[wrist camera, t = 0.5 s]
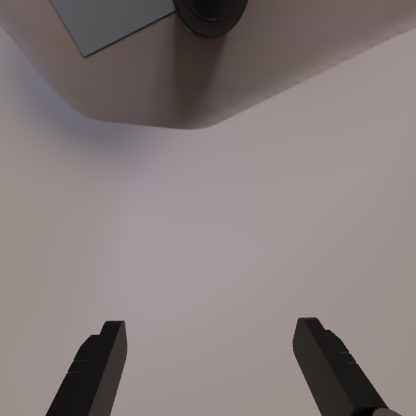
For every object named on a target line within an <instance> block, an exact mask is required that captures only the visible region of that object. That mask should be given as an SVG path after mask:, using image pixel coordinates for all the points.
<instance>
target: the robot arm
mask: <svg viewBox="0 0 416 416" xmlns="http://www.w3.org/2000/svg"><path fill="white" fill-rule="evenodd" d="M293 351H294V354H295V357H296V359H297V361H298V363H299V366H300V368H301V370H302V373H303V375H304V377H305V379H306V382H307V384H308V386H309V388H310V391H311V393H312V395H313V397H314V399H315V402H316V404H317V406H318V408H319V411H320V413H321V415H322V416H401V415H400V414H398V413H397V412H394V411H392V410H390V409H389V408H388V407H387V405H386V404H385V403H384V401H383V400H382V398H381V397H380V395H379V394H378V393H377V391H376V390H375V388H374V387H373V385H372V384H371V382H370V381H369V380H368V378H367V377H366V375H365V374H364V372H363V371H362V370H361V368H360V367H359V365H358V364H356V361H355V360H354V358H353V357H352V355H351V354H349V351H348V349H347V348H346V347H345V345H344V344H343V342H342V341H341V339H339V338H338V337H337V336H336V335H335V334H334V333H332V332H331V331H330V330H325V329H324V328H323V326H322V324H321V323H320V321H319V320H318V319H317V318H315V317H314V318H313V317H311V318H299V319H298V321H297V325H296V329H295V334H294V338H293ZM126 355H127V338H126V329H125V322H124V321H106V322H105V324H104V325H103V328H102V330H101V333H100V334H99V335H91V336H90V337H89V338H88V339H87V340H86V341H85V342H84V343H83V344H82V345H81V347H80V348H79V350H78V352H77V354H76V356H75V358H74V361H73V363H72V364H71V366H70V368H69V370H68V373H67V374H66V376H65V378H64V380H63V382H62V384H61V386H60V388H59V390H58V392H57V394H56V396H55V398H54V400H53V402H52V404H51V406H50V408H49V410H48V412H47V414H46V416H110V414H111V410H112V406H113V403H114V399H115V396H116V393H117V389H118V385H119V382H120V378H121V374H122V371H123V368H124V364H125V361H126Z"/></svg>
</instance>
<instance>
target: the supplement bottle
mask: <svg viewBox="0 0 416 416" xmlns="http://www.w3.org/2000/svg"><path fill="white" fill-rule="evenodd" d="M172 2H173V5H174V8H175V10H176V13H177V15H178V17H179V18H180V20H181V22H182V23H183V25H184V26H185V27H186V29H187V30H188V31H189V32H191V33H192V34H193V35H195V36H197V37H200V38H205V39H208V38H215V37H219V36H222V35H224V34H225V33H227V32H228V31H230V30H231V29H232V28H233V27H234V26H235V25H236V24H237V23H238V21H239V20H240V18H241V17H242V15H243V13H244V11H245V8H246V5H247V2H248V0H172Z"/></svg>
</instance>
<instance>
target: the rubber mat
mask: <svg viewBox="0 0 416 416" xmlns="http://www.w3.org/2000/svg"><path fill="white" fill-rule="evenodd" d="M50 1H51V3H52V4H53V6H54V8H55V9H56V11H57V13H58V14H59V16H60V18H61V20H62V21H63V23H64V25H65V26H66V28H67V30H68V32H69V33H70V35H71V37H72V38H73V40H74V42H75V43H76V45H77V47H78V49H79V50H80V52H81V54H82V55H83V57H85V56H87V55H89V54H91V53H93V52H95V51H97V50H99V49H101V48H103V47H105V46H107V45H109V44H111V43H113V42H115V41H117V40H119V39H121V38H123V37H125V36H126V35H128V34H130V33H132V32H134V31H136V30H138V29H140V28H142V27H144V26H146V25H148V24H150V23H152V22H154V21H156V20H158V19H160V18H162V17H164V16H166V15H168V14H170V13H172V12H174V11H176V10H175V8H174V5H173V2H172V0H50Z"/></svg>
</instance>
